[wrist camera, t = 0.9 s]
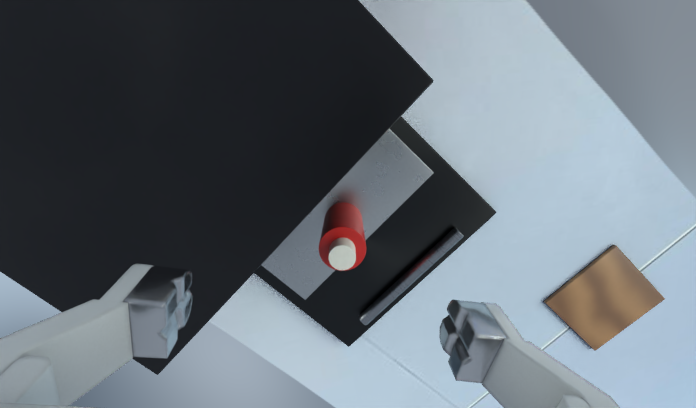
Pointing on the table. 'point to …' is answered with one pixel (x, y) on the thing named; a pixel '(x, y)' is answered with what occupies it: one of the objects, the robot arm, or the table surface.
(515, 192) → the table surface
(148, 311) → the robot arm
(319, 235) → the oven
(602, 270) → the wooden square board
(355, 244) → the ketchup bottle
